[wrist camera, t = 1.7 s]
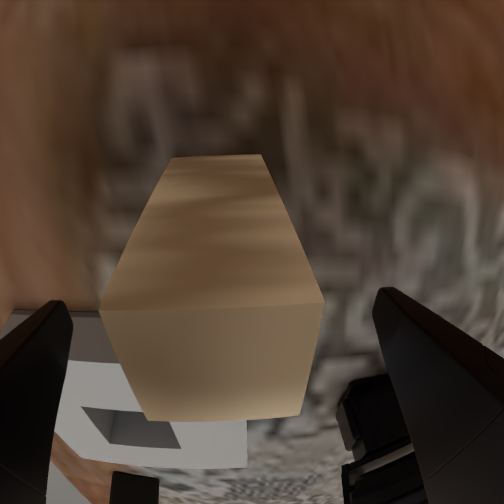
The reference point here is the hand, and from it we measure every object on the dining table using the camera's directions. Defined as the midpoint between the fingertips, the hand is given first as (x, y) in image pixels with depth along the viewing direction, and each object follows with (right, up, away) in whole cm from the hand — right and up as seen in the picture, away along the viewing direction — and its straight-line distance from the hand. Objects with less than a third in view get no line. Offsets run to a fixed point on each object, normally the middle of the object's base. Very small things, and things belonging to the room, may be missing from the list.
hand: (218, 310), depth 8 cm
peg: (-1, +4, +7) cm, 8 cm away
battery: (-16, -31, +27) cm, 44 cm away
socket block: (-8, -9, +14) cm, 18 cm away
